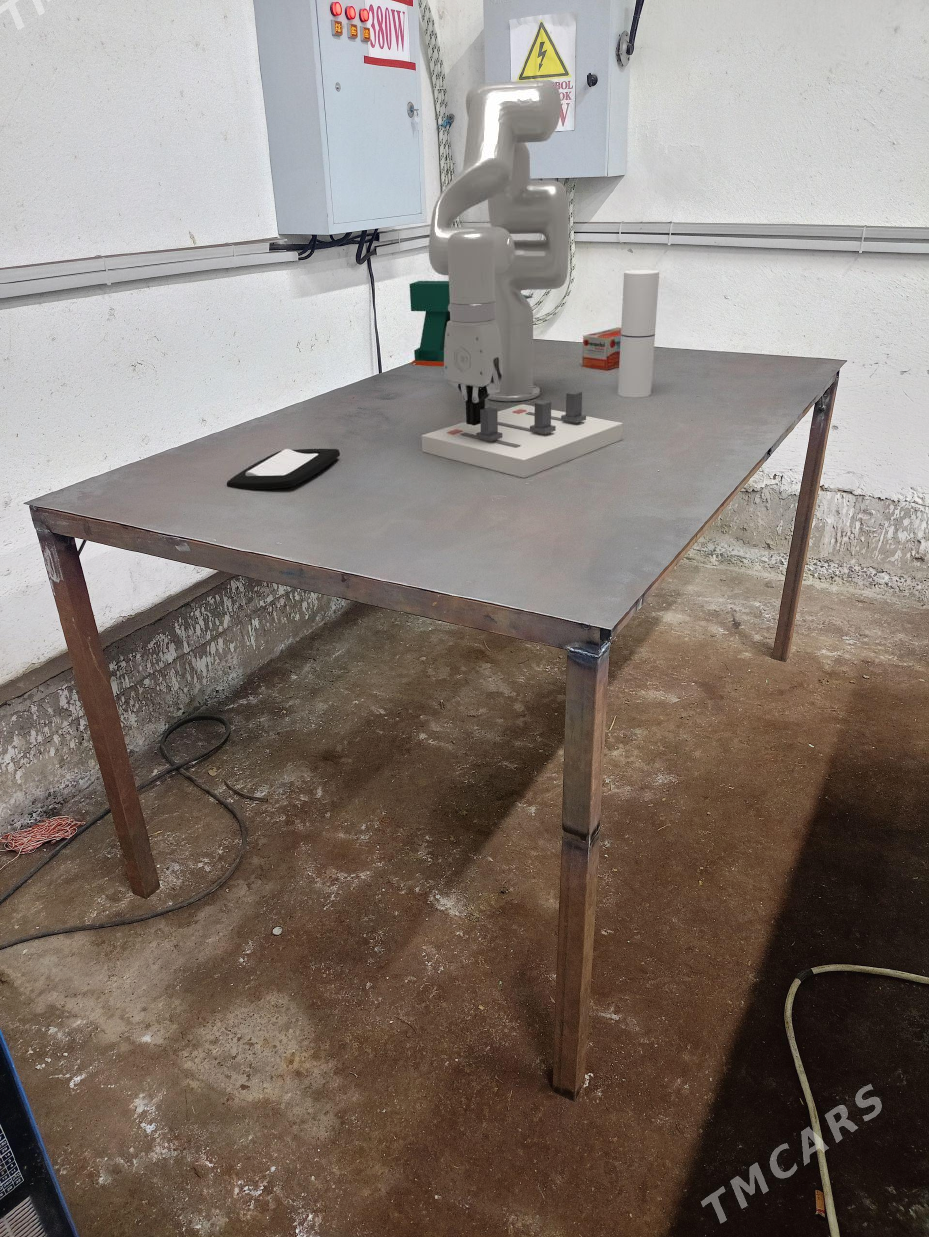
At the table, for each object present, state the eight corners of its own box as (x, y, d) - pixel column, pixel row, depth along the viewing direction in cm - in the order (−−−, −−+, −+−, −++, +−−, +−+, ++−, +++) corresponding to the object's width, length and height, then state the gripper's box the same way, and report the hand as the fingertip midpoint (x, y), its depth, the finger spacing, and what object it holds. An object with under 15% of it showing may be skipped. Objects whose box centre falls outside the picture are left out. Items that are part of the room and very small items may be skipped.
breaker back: (561, 419, 157) (561, 392, 155) (570, 416, 159) (571, 389, 157) (576, 423, 155) (577, 395, 153) (586, 419, 157) (586, 392, 155)
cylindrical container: (614, 396, 186) (620, 273, 175) (621, 389, 192) (628, 269, 180) (647, 398, 184) (655, 273, 172) (653, 390, 190) (662, 270, 178)
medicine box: (616, 357, 224) (617, 326, 220) (642, 361, 219) (644, 329, 215) (580, 367, 215) (581, 334, 211) (607, 371, 210) (608, 338, 206)
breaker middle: (529, 430, 152) (529, 402, 149) (539, 427, 154) (539, 399, 151) (545, 434, 150) (545, 405, 147) (555, 430, 151) (556, 402, 149)
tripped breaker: (476, 437, 149) (475, 409, 147) (487, 434, 151) (486, 405, 148) (491, 441, 147) (491, 412, 144) (502, 437, 148) (502, 408, 146)
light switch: (276, 444, 156) (344, 441, 152) (279, 459, 158) (347, 457, 153) (216, 478, 140) (291, 476, 135) (220, 495, 141) (294, 494, 136)
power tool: (537, 364, 220) (537, 281, 210) (530, 369, 214) (530, 284, 205) (422, 360, 229) (417, 280, 220) (412, 365, 224) (407, 283, 214)
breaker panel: (422, 451, 155) (421, 434, 153) (522, 419, 172) (522, 403, 171) (524, 477, 140) (524, 458, 138) (622, 439, 157) (623, 422, 156)
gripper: (425, 312, 143) (430, 421, 152) (490, 320, 134) (492, 435, 143) (456, 307, 148) (460, 412, 157) (522, 313, 139) (522, 425, 147)
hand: (475, 423), depth 150 cm, fingers closed
